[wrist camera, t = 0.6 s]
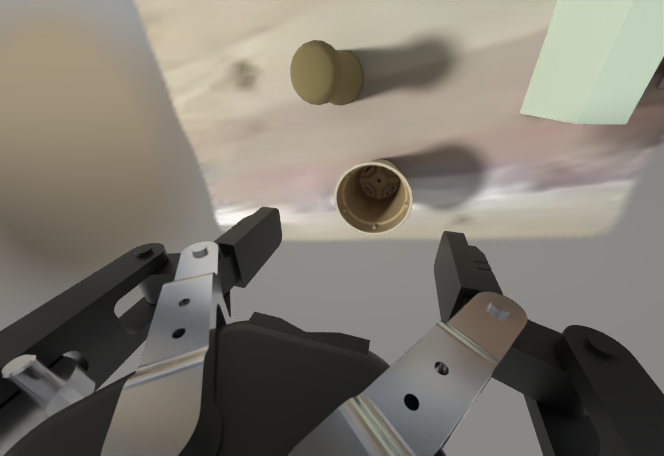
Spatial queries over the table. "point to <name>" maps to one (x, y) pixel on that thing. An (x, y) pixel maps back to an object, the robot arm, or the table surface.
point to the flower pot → (373, 197)
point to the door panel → (596, 60)
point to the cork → (325, 74)
